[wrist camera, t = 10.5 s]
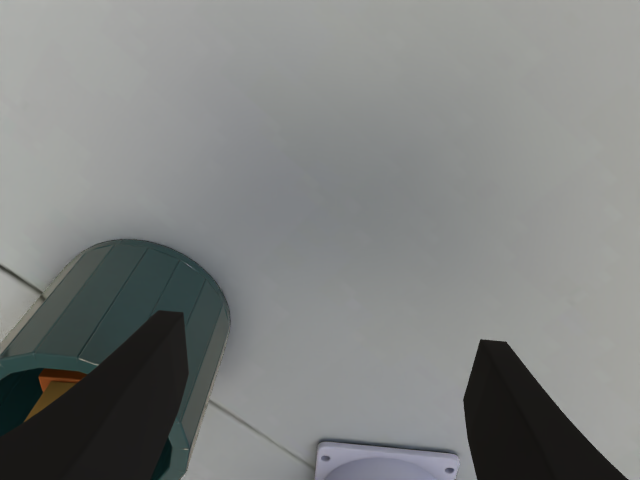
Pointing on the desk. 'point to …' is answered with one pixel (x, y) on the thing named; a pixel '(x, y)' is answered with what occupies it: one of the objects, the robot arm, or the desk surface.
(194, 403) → the cup
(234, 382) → the desk surface
